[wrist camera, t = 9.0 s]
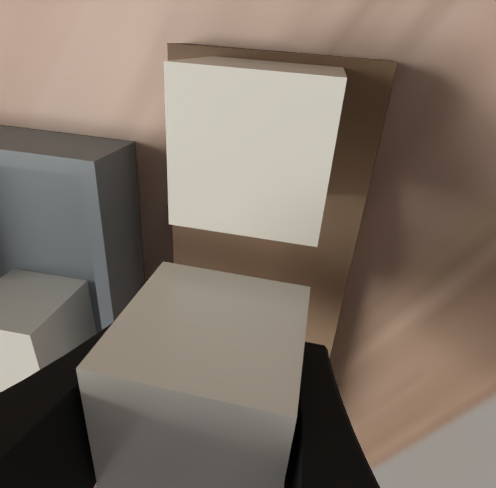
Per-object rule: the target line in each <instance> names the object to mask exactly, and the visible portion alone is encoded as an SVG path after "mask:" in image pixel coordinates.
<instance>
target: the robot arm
mask: <svg viewBox="0 0 496 488" xmlns="http://www.w3.org/2000/svg"><path fill="white" fill-rule="evenodd" d="M112 324H113V323H112ZM112 324H110V325H109V326H107V327H106V328H104V329H103V330H101V331H100V332H98V333H97V334H95V335H94V336H92V337H91V338H90V339H88V340H86V341H85V342H83V343H82V344H80V345H79V346H77V347H76V348H74V349H73V350H71V351H70V352H68V353H67V354H65V355H64V356H62V357H60V358H59V359H57V360H55V361H54V362H52V363H50V364H49V365H47V366H45V367H44V368H42V369H40V370H39V371H37V372H36V373H34V374H32V375H31V376H29V377H27V378H26V379H24V380H22V381H20V382H18V383H17V384H15V385H13V386H11V387H9V388H7V389H6V390H4V391H2V392H0V488H93V487H94V485H95V483H96V482H97V481H96V476H95V470H94V465H93V459H92V454H91V449H90V443H89V438H88V432H87V427H86V421H85V416H84V410H83V405H82V400H81V394H80V389H79V383H78V378H77V372H76V368H77V366H78V365H79V364H80V363H81V362H82V360H83V359H84V358H85V357H86V355H87V354H88V353H89V352H90V351H91V349H92V348H93V347H94V346H95V344H96V343H97V342H98V341H99V339H100V338H101V337H102V336H103V335H104V333H105V332H106V331H107V330H108V328H109V327H110V326H111V325H112ZM284 488H380V487H379V485H378V483H377V481H376V479H375V477H374V474H373V472H372V470H371V468H370V466H369V464H368V462H367V460H366V458H365V455H364V453H363V451H362V449H361V447H360V444H359V442H358V440H357V438H356V435H355V433H354V430H353V428H352V425H351V423H350V420H349V418H348V415H347V412H346V410H345V407H344V405H343V402H342V399H341V396H340V393H339V390H338V387H337V384H336V381H335V378H334V374H333V371H332V367H331V363H330V359H329V354H328V349H327V348H326V347H325V345H320V344H315V343H310V342H305V345H304V355H303V364H302V374H301V383H300V393H299V402H298V412H297V420H296V425H295V430H294V435H293V440H292V445H291V450H290V455H289V460H288V465H287V470H286V475H285V481H284Z"/></svg>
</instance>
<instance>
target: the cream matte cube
mask: <svg viewBox="0 0 496 488" xmlns="http://www.w3.org/2000/svg"><path fill="white" fill-rule="evenodd" d="M95 334H97V332H96V326H95V321H94V315H93V310H92V304H91V298H90V293H89V287H88V282H87V280H81V279H75V278H69V277H63V276H56V275H50V274H44V273H38V272H31V271H25V270H19V269H12V270H11V271H10V272H8V273H7V274H5V275H4V276H2V277H1V278H0V392H2V391H4V390H6V389H7V388H9V387H11V386H13V385H15V384H17V383H18V382H20V381H22V380H24V379H26V378H27V377H29V376H31V375H32V374H34V373H36V372H37V371H39V370H40V369H42V368H44V367H45V366H47V365H49V364H50V363H52V362H54V361H55V360H57V359H59V358H60V357H62V356H64V355H65V354H67V353H68V352H70V351H71V350H73V349H74V348H76V347H77V346H79V345H80V344H82V343H83V342H85V341H86V340H88V339H90V338H91V337H92V336H94V335H95Z"/></svg>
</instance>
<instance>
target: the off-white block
mask: <svg viewBox="0 0 496 488" xmlns="http://www.w3.org/2000/svg"><path fill="white" fill-rule="evenodd" d="M346 82H347V76H346V73H345V70H344V68H343V67H333V66H321V65H310V64H298V63H287V62H275V61H264V60H252V59H241V58H229V57H218V56H210V57H200V58H190V59H179V60H169V61H164V89H165V120H166V152H167V183H168V214H169V224H170V225H176V226H183V227H189V228H196V229H202V230H209V231H215V232H222V233H228V234H235V235H241V236H248V237H254V238H261V239H267V240H274V241H280V242H287V243H293V244H300V245H306V246H313V247H317V246H318V240H319V235H320V229H321V223H322V218H323V212H324V206H325V201H326V195H327V189H328V184H329V178H330V172H331V167H332V161H333V155H334V150H335V144H336V138H337V133H338V127H339V121H340V116H341V110H342V104H343V99H344V93H345V87H346Z"/></svg>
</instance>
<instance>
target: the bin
mask: <svg viewBox="0 0 496 488" xmlns="http://www.w3.org/2000/svg"><path fill="white" fill-rule="evenodd" d="M12 269H19V270H25V271H31V272H38V273H44V274H50V275H56V276H63V277H69V278H75V279H81V280H87V282H88V287H89V293H90V298H91V304H92V310H93V315H94V321H95V326H96V332H97V333H98V332H100V331H101V330H103V329H104V328H106V327H107V326H109V325H110V324H112V323H113V322H114V321H115V320H116V319H117V317H118V316H119V315H120V314H121V312H122V311H123V310H124V309H125V308H126V306H127V305H128V304H129V303H130V301H131V300H132V299H133V298H134V297H135V295H136V294H137V293H138V292H139V290H140V289H141V288H142V287H143V285H144V284H145V280H144V266H143V252H142V237H141V223H140V209H139V195H138V181H137V166H136V152H135V142H133V141H125V140H117V139H109V138H101V137H93V136H84V135H76V134H68V133H60V132H52V131H44V130H36V129H28V128H19V127H11V126H3V125H0V278H1V277H2V276H4V275H5V274H7V273H8V272H10V271H11V270H12Z"/></svg>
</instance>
